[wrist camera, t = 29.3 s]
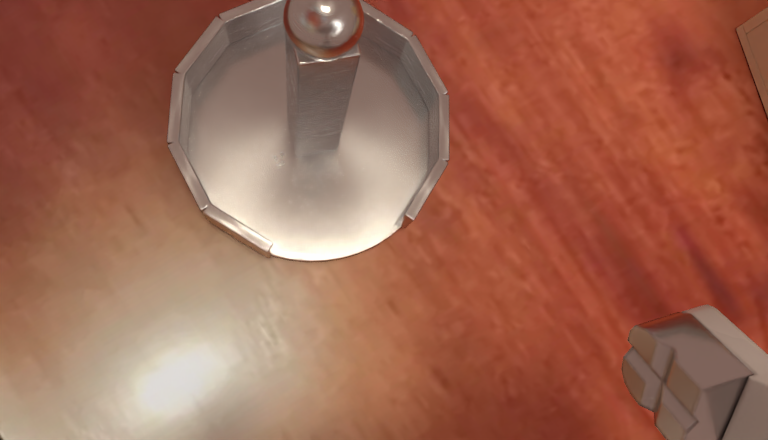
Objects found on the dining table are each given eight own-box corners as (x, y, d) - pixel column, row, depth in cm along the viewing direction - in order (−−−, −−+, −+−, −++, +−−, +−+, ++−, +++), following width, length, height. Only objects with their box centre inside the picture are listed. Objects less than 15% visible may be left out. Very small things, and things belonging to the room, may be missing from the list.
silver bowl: (203, 290, 26) (132, 255, 14) (153, 36, 28) (56, -175, 16) (467, 230, 28) (586, 159, 17) (405, -1, 30) (474, -207, 19)
